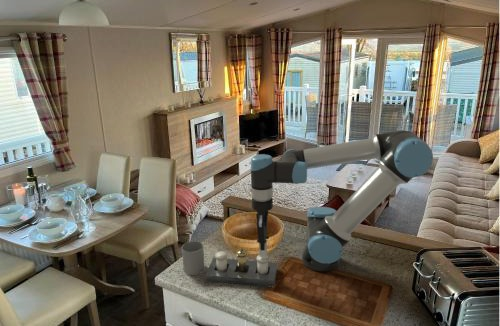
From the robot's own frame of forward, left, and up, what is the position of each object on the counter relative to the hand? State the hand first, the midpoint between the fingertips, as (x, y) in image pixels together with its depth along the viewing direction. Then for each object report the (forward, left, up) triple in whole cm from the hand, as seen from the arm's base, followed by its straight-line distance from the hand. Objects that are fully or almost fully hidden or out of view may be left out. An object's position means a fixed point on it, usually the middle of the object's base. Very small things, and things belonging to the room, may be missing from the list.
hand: (263, 255), depth 139 cm
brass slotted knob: (+8, 0, -6) cm, 10 cm away
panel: (+8, 0, -9) cm, 12 cm away
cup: (+28, -2, -10) cm, 30 cm away
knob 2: (0, 0, -9) cm, 9 cm away
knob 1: (+16, 0, -9) cm, 18 cm away
